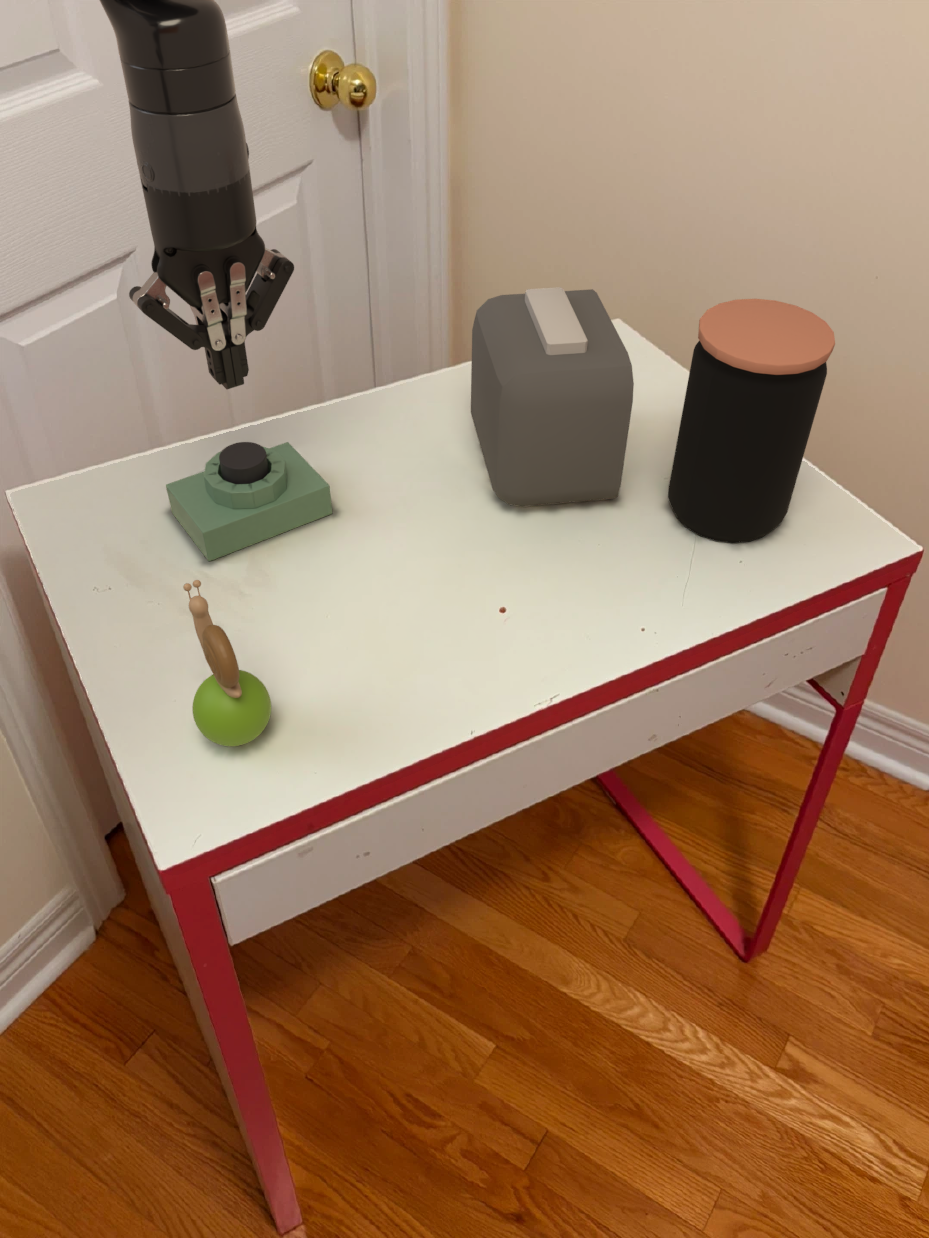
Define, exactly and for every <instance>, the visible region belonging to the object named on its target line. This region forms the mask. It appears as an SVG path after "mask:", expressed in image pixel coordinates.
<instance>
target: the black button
mask: <svg viewBox="0 0 929 1238" xmlns="http://www.w3.org/2000/svg"><path fill="white" fill-rule="evenodd" d="M262 446H263V445H261V444H259V443H257V442H251V441H241V442H239V441H238V442H235V443H232V444H230V445H227V446H225V447H224V448H223V449H222V450H221V451H220V452H221V453H220V455H219V461H220V466H221V472H222V476H223V478H224V479H225V480H226V481H227V482H230V483H233V484H251V483H254V482H256V481H259V480H262V479H263V478H264V477H266V475H267V474H268V471H269V468H268V461H267V455H266V451H265V449H264V448H263V447H264V446H263V447H262Z"/></svg>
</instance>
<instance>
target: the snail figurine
mask: <svg viewBox="0 0 929 1238" xmlns="http://www.w3.org/2000/svg"><path fill="white" fill-rule="evenodd" d="M192 586H193V587H194V588H196V589H197V594H198V595H194V596H191V594H190V591H191V590H192V588H193V587H192ZM201 586H202V581H200V579H195V580H194V581H192V584H191V583H188V582H186V583H185V584H184V585H183V590H184V591H185V592H187V595H188V598H189V601H188V609H189V612H190V613H191V615H192V620H193V624H194V630H195V633H196V636H197V638H198V642H199V644H200V646H201V647H200V648H201V649H202V653H203V655H204V659H205V661H206V663H207V665H208V667H209V668H210V671H211V672H212V674H211V675H209V676H208V677H207V678H205V679H204V680H203V681H202V682H201V684H200V685H199V686H198V688H197V689H196V691H195V694H194V697H193V700H192V716H193V721H194V723H195V725H196V728H197V729H198V730H199V732H200V733H201V734H202V735H203V736H204V737H205V738H206V739H208V740H209V741H210V742H212V743H214V744H217V745H220V746H223V747H224V746H225V747H238V746H242V745H246V744H248V743H250V742H252V741H253V740H256V738H258V737H259V736H260V735H261V734H262V732H263V731H264V730H265V729H266V727H267V725H268V723H269V721H270V718H271V714H272V701H271V696H270V693H269V690H268V688H266V685H265V684H264V683H263V681H261V679H259V678H258V677H257V676H255V675H254V674H252V673H251V672H248V671H246V670H243V669H240V668H239V667H240V666H239V663H238V659H237V656H236V653H235V651H234V648H233V646H232V643H231V640H230V639H229V637H228V634H227V633H226V632H225V630H224V629H223V628H222V627H221V626H220V625H217V624H214V622H213V620H212V617H211V615H210V612H209V602H208V601H207V599H206V598H205V597H203V596H201V593H200V589H199V588H200V587H201Z"/></svg>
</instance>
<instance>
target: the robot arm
mask: <svg viewBox="0 0 929 1238" xmlns="http://www.w3.org/2000/svg"><path fill="white" fill-rule="evenodd" d="M99 2H100V5H101V7H102V8H103V9H102V10H103V11H104V13H105V14H106V16H107V19H108V20H109V22H110V25H111V27H112V30H113V32H114V35H115V39H116V44H117V45H116V46H117V50H118V55H119V61H120V64H121V70H122V76H123V79H124V85H125V90H126V95H127V99H128V107H129V117H130V130H131V139H132V144H133V145H132V146H133V149H134V150H133V151H134V155H135V159H136V165H137V169H138V174H139V179H140V184H141V189H142V193H143V198H144V202H145V208H146V212H147V217H148V222H149V226H150V227H149V228H150V232H151V236H152V237H151V238H152V241H153V246H154V248H153V255H152V259H151V262H150V264H151V270H152V273H151V275H150V277H148V278H147V280H146V282H145V283H144V284H143V285H142V286H139V285H137V286H133V287H131V289H130V290H129V292H128V297H129V299H130V301H132V302H133V304H134V305H135V306H136V307H137V309H139V310H140V311H141V312H142V313H143V314H144V315H145V316H147V318H148V319H151V320H152V321H153V322H154V323H156V324H157V325H158V326H159V327H161V328H162V329H164V330H165V331H167V332H168V333H169V334H171V336H173V337H175V338H176V339H177V340H178V341H180V342H181V343H183V345H185V346H187V347H188V348H189V349H191V350H193V351H198V350H200V349H201V348H204V352H205V353H204V354H205V358H206V359H205V360H206V364H207V369H208V373H209V375H210V376H211V378H212V379H214V381H216V383H217V384H218V385H219V386H220V385H222V387H224V389H226V390H230V389H233V388H237V387H239V386H243V385H245V380H244V378H246V377H248V375H249V371H250V368H249V362H248V356H247V349H246V339H247V337H248V336H249V335H250V334H251V333H252V332H254V331H255V332H259V331H262V330H263V329H264V328H265V327H266V325H267V323H268V321H269V319H270V317H271V315H272V313H273V312H274V310H275V308H276V305H277V304H278V302H279V300H280V298H281V296H282V294H283V292H284V291H285V289H286V286H287V285H288V283H289V281H290V279H291V277H292V275H293V273H294V271H295V265H294V263H293V262H292V261H291V260H290V259H289V258H287V257H286V256H285V255H284V254H283V253H282V252H280V251H279V250H277V249H276V248H272V249H269V248H267V247H266V244H265V241H264V238H262V237H261V235H260V234H259V231H258V229H257V216H256V215H257V213H256V207H255V199H254V192H253V186H252V185H253V184H252V177H251V168H250V162H249V159H250V157H249V156H250V150H249V145H248V143H247V137H246V133H245V126H244V122H243V118H242V114H241V111H240V107H239V104H238V98H237V93H236V84H235V77H234V76H235V75H234V69H233V61H232V53H231V48H230V41H229V35H228V28H227V24H226V19H225V16H224V13H223V10H222V9H221V7H220V5H219V4H218V3H217V2H216V1H215V0H99ZM166 288H169V289H170V290H171V291H172V292H173V293H175V295H177V296H178V297H179V298H180V299H181V300H183V301H184V302H185V303H186V304H187V305H188V306H189V308H190V310H191V312H192V313H193V317H194V319H195V320H194V321H195V323H196V324H193V323H192V324H191V323H189V322H187V321H186V320H185V319H183V318H182V317H181V316H179V315H178V314H177V313H176V312H175V311H173V310H172V309H170V305H171V299H170V297H169V295H168V294H167V292H166Z"/></svg>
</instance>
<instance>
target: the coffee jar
mask: <svg viewBox="0 0 929 1238" xmlns="http://www.w3.org/2000/svg"><path fill="white" fill-rule="evenodd" d="M697 331H698V332H697V333H698V334H697V339H698V342H696V344H695V345H694V348H693V352H692V355H691V356H692V357H691V362H690V368H689V373H688V377H687V383H686V390H685V394H684V400H683V406H682V412H681V417H680V422H679V429H678V433H677V439H676V445H675V450H674V455H673V459H672V460H673V461H672V465H671V472H670V476H669V482H668V490H667V491H668V492H667V499H668V502H669V504H670V507H671V509H672V511H673V513H674V514H675V516H676V518H677V520H678V521H679V522H680V523H681V524H682V525H683V526H684V527H685V528H686V529H688V530H689V531H691V532H693V533H695V534H696V535H698V536H699V537H703V538H706V539H709V540H712V541H715V542H722V543H730V544H737V543H738V544H739V543H749V542H752V541H755V540H758V539H761V538H764V537H765V536H766V535H768V534H770V533H771V532H772V531H773V530H775V529H776V528H777V527H779V526H780V525H781V524H782V523H783V521H784V519H785V518H786V515H787V514H788V512H789V508H790V504H791V501H792V497H793V493H794V490H795V486H796V484H797V480H798V476H799V473H800V469H801V465H802V462H803V459H804V455H805V452H806V449H807V445H808V441H809V438H810V435H811V432H812V427H813V424H814V421H815V417H816V413H817V410H818V407H819V403H820V400H821V396H822V392H823V389H824V387H825V386H824V385H825V382H826V379H827V375H828V365H827V362H828V361H829V358H830V357H831V355H832V353H833V351H834V348H835V346H836V339H835V332H834V330H833V329H832V327H831V326H830V325H829V323H828V322H827V321H826V320H824V319H823V318H821V317H820V316H818V315H817V314H815V313H814V312H813V311H810V310H807V309H805V308H803V307H800V306H798V305H795V304H791V303H787V302H783V301H779V300H774V299H773V300H772V299H764V298H742V299H740V298H739V299H738V298H737V299H732V300H728V301H724V302H720V303H718V304H715V305H714V306H712V307H710V308H708V309H706V311H705V312H704V313H703V314H702V315H701V316H700V318H699V321H698V330H697Z"/></svg>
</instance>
